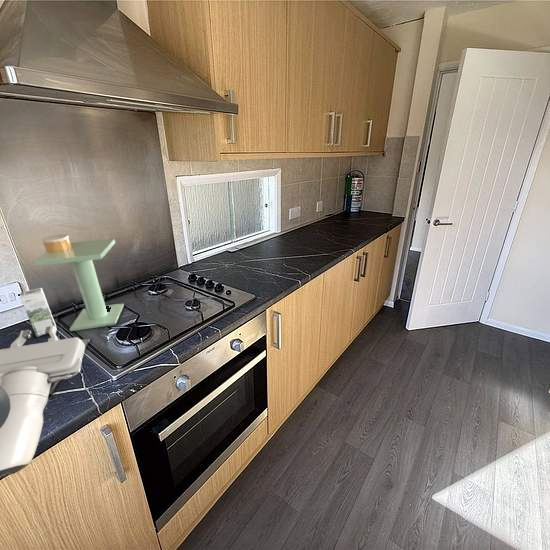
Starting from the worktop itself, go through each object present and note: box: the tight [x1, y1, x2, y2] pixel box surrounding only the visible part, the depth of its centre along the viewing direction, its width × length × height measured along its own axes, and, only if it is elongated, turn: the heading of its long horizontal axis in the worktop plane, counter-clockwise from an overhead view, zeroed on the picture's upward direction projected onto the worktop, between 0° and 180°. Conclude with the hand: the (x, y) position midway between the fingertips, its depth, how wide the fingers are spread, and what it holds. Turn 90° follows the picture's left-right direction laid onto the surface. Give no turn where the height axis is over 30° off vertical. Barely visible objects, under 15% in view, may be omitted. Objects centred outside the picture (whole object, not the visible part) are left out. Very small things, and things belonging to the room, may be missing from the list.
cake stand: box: [32, 233, 125, 332], centre depth 99 cm, size 18×18×30 cm
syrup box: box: [19, 287, 58, 338], centre depth 96 cm, size 6×6×14 cm
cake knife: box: [48, 338, 90, 400], centre depth 81 cm, size 25×3×2 cm, turn 14°
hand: (39, 329), depth 70 cm, fingers open, 4 cm apart
